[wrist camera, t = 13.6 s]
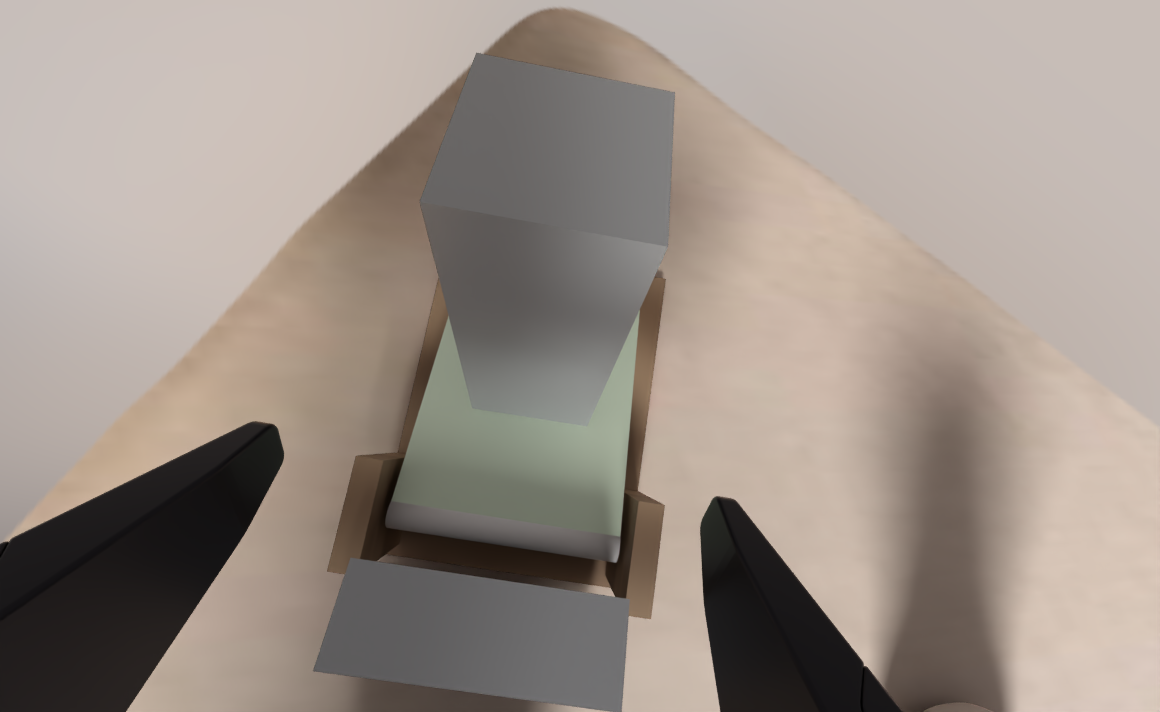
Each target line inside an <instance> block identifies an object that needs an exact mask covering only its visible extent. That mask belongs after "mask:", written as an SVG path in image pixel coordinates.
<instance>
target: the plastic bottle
mask: <svg viewBox="0 0 1160 712" xmlns="http://www.w3.org/2000/svg"><path fill="white" fill-rule="evenodd" d="M923 712H993V711H991V710H989V709H986V708H984V707H981V706H978V705H974V704H970V703H956V702H954V703H948V704H942V705H937V706H933V707H931V708H929V709H927V710H924V711H923Z"/></svg>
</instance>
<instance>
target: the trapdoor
mask: <svg viewBox="0 0 1160 712" xmlns="http://www.w3.org/2000/svg"><path fill="white" fill-rule="evenodd" d="M639 314H640V310H639V312H638V314H637V317H636V319H635V321H634V323H633V326H632V328H631V330H630V332H629V334H628V337H627V339H626V341H625V343H624V346H623V348H622V350H621V352H620V354H619V357H618V359H617V361H616V363H615V366H614V368H613V370H612V372H611V374H610V377H609V379H608V381H607V383H606V385H605V388H604V390H603V392H602V394H601V397H600V399H599V401H598V403H597V405H596V408H595V410H594V412H593V414H592V417H591V419H590V421H589V423H588V425H587V426H581V425H575V424H568V423H562V422H555V421H549V420H543V419H536V418H530V417H524V416H517V415H511V414H505V413H498V412H492V411H486V410H479V409H473V408H472V406H471V402H470V398H469V394H468V390H467V386H466V382H465V378H464V374H463V370H462V366H461V362H460V359H459V355H458V351H457V347H456V343H455V339H454V335H453V331H452V327H451V323H450V319H449V316H448V319H447V323H446V326H445V329H444V332H443V336H442V339H441V342H440V345H439V348H438V352H437V355H436V358H435V361H434V365H433V368H432V371H431V374H430V378H429V381H428V384H427V387H426V390H425V394H424V397H423V400H422V403H421V407H420V410H419V413H418V416H417V420H416V423H415V426H414V429H413V432H412V436H411V439H410V442H409V445H408V449H407V452H406V455H405V458H404V462H403V465H402V468H401V471H400V474H399V478H398V481H397V484H396V487H395V491H394V494H393V497H392V500H391V503H390V505H389V508H388V511H387V515H386V521H385V525H386V528H391V529H398V530H404V531H411V532H418V533H424V534H431V535H437V536H444V537H450V538H457V539H463V540H470V541H477V542H483V543H490V544H496V545H503V546H509V547H516V548H523V549H529V550H536V551H542V552H549V553H555V554H562V555H568V556H575V557H582V558H588V559H595V560H601V561H608V562H614V563H616V562H617V560H618V556H619V550H620V534H621V523H622V511H623V499H624V488H625V476H626V465H627V453H628V441H629V430H630V418H631V406H632V395H633V383H634V372H635V360H636V348H637V337H638V325H639ZM629 603H630V599H625V598H618V597H612V596H605V595H598V594H592V593H585V592H578V591H571V590H565V589H558V588H551V587H544V586H538V585H531V584H524V583H518V582H511V581H504V580H497V579H491V578H484V577H477V576H470V575H464V574H457V573H450V572H444V571H437V570H430V569H423V568H417V567H410V566H403V565H396V564H390V563H383V562H376V561H369V560H363V559H356V558H350V561H349V564H348V567H347V570H346V573H345V576H344V579H343V582H342V585H341V588H340V591H339V594H338V597H337V600H336V603H335V606H334V609H333V612H332V615H331V618H330V621H329V624H328V628H327V631H326V634H325V637H324V640H323V643H322V646H321V649H320V652H319V655H318V658H317V661H316V664H315V667H314V670H313V671H316V672H323V673H330V674H338V675H345V676H352V677H360V678H367V679H375V680H382V681H389V682H397V683H404V684H411V685H419V686H426V687H434V688H441V689H448V690H456V691H463V692H470V693H478V694H485V695H493V696H500V697H507V698H515V699H522V700H529V701H537V702H544V703H552V704H559V705H566V706H574V707H581V708H588V709H596V710H603V711H611V712H622V699H623V685H624V671H625V658H626V644H627V630H628V617H629Z"/></svg>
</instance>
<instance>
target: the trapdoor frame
mask: <svg viewBox="0 0 1160 712" xmlns="http://www.w3.org/2000/svg"><path fill="white" fill-rule="evenodd" d="M665 280H666V279H663V278H657V277H654V279H653V281H652V283H651V286H650V288H649V290H648V292H647V295H646V297H645V299H644V301H643V303H642V306H641V308H640V314H639V325H638V337H637V348H636V360H635V372H634V383H633V395H632V406H631V418H630V430H629V441H628V453H627V465H626V476H625V488H624V499H623V511H622V523H621V534H620V550H619V556H618V560H617V562H616V563H614V562H608V561H601V560H595V559H588V558H582V557H575V556H568V555H562V554H555V553H549V552H542V551H536V550H529V549H523V548H516V547H509V546H503V545H496V544H490V543H483V542H477V541H470V540H463V539H457V538H450V537H444V536H437V535H431V534H424V533H418V532H411V531H404V530H398V529H391V528H386V525H385V521H386V515H387V511H388V508H389V505H390V503H391V500H392V497H393V494H394V491H395V487H396V484H397V481H398V478H399V474H400V471H401V468H402V465H403V462H404V458H405V455H406V452H407V449H408V445H409V442H410V439H411V436H412V432H413V429H414V426H415V423H416V420H417V416H418V413H419V410H420V407H421V403H422V400H423V397H424V394H425V390H426V387H427V384H428V381H429V378H430V374H431V371H432V368H433V365H434V361H435V358H436V355H437V352H438V348H439V345H440V342H441V339H442V336H443V332H444V329H445V326H446V323H447V319H448V316H449V315H448V311H447V308H446V304H445V300H444V296H443V292H442V288H441V284H440V280H439V278H438V283H437V287H436V291H435V296H434V300H433V304H432V308H431V313H430V317H429V321H428V326H427V330H426V334H425V338H424V343H423V347H422V351H421V355H420V360H419V364H418V368H417V373H416V377H415V381H414V385H413V390H412V394H411V398H410V403H409V407H408V411H407V415H406V420H405V424H404V428H403V433H402V437H401V441H400V445H399V450H398V453H386V454H373V455H361V456H356V458H355V462H354V466H353V470H352V474H351V478H350V482H349V486H348V490H347V494H346V498H345V502H344V506H343V510H342V514H341V518H340V522H339V526H338V530H337V534H336V538H335V542H334V546H333V550H332V554H331V558H330V562H329V566H328V570H327V572H333V573H340V574H345V573H346V570H347V567H348V564H349V561H350V558H356V559H363V560H369V561H377V560H378V559H380V558H381V557H382V556H384V555H385V554H388V555H395V556H402V557H408V558H415V559H422V560H428V561H435V562H442V563H449V564H455V565H462V566H469V567H475V568H482V569H489V570H495V571H502V572H509V573H515V574H522V575H529V576H535V577H542V578H549V579H556V580H562V581H569V582H576V583H582V584H589V585H596V586H602V587H609V588H611V589H612V591H613V593H614V595H615V597H618V598H625V599H630V603H629V616H633V617H640V618H647V619H651V614H652V606H653V598H654V589H655V581H656V573H657V564H658V556H659V548H660V540H661V531H662V523H663V515H664V506H665V505H663V504H661V503H659V502H657V501H656V500H654V499H652V498H650V497H648V496H646V495H644V494H642V493H640V492H638V484H639V477H640V469H641V462H642V454H643V446H644V439H645V431H646V424H647V416H648V409H649V401H650V394H651V386H652V378H653V371H654V363H655V356H656V348H657V341H658V333H659V326H660V318H661V310H662V303H663V295H664V288H665Z"/></svg>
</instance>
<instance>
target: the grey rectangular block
mask: <svg viewBox="0 0 1160 712" xmlns="http://www.w3.org/2000/svg"><path fill="white" fill-rule="evenodd" d="M674 100H675V92H670V91H665V90H660V89H655V88H650V87H645V86H640V85H635V84H630V83H625V82H620V81H615V80H610V79H605V78H600V77H595V76H590V75H585V74H580V73H575V72H570V71H565V70H560V69H555V68H550V67H545V66H540V65H535V64H530V63H525V62H520V61H515V60H510V59H505V58H500V57H495V56H490V55H485V54H480V53H476V55H475V58H474V60H473V63H472V66H471V68H470V71H469V74H468V76H467V79H466V81H465V84H464V87H463V89H462V92H461V94H460V97H459V100H458V102H457V105H456V108H455V110H454V113H453V115H452V118H451V121H450V123H449V126H448V129H447V131H446V134H445V136H444V139H443V142H442V144H441V147H440V149H439V152H438V155H437V157H436V160H435V163H434V165H433V168H432V170H431V173H430V176H429V178H428V181H427V184H426V186H425V189H424V191H423V194H422V197H421V199H420V206H421V210H422V213H423V217H424V221H425V225H426V229H427V233H428V237H429V241H430V245H431V249H432V253H433V257H434V260H435V264H436V268H437V272H438V276H439V280H440V284H441V288H442V292H443V296H444V300H445V304H446V308H447V311H448V315H449V319H450V323H451V327H452V331H453V335H454V339H455V343H456V347H457V351H458V355H459V359H460V362H461V366H462V370H463V374H464V378H465V382H466V386H467V390H468V394H469V398H470V402H471V406H472V408H473V409H479V410H486V411H492V412H498V413H505V414H511V415H517V416H524V417H530V418H536V419H543V420H549V421H555V422H562V423H568V424H575V425H581V426H587V425H588V423H589V421H590V419H591V417H592V414H593V412H594V410H595V408H596V405H597V403H598V401H599V399H600V397H601V394H602V392H603V390H604V388H605V385H606V383H607V381H608V379H609V377H610V374H611V372H612V370H613V368H614V366H615V363H616V361H617V359H618V357H619V354H620V352H621V350H622V348H623V346H624V343H625V341H626V339H627V337H628V334H629V332H630V330H631V328H632V326H633V323H634V321H635V319H636V317H637V314H638V312H639V310H640V308H641V306H642V303H643V301H644V299H645V297H646V295H647V292H648V290H649V288H650V286H651V283H652V281H653V279H654V277H655V275H656V272H657V270H658V268H659V266H660V263H661V261H662V259H663V257H664V255H665V252H666V250H667V248H668V236H669V213H670V190H671V168H672V145H673V123H674Z"/></svg>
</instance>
